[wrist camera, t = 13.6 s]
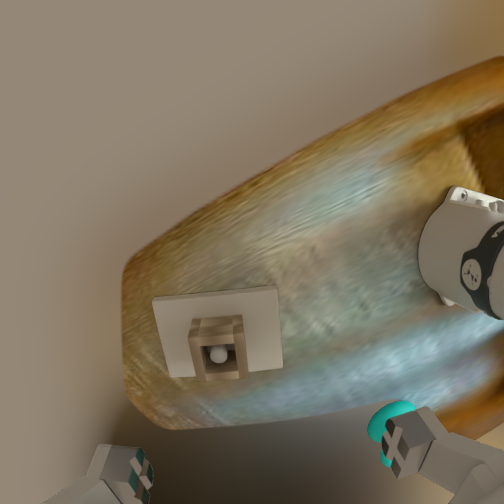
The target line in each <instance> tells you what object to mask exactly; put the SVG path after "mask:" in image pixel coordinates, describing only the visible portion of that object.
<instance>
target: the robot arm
mask: <svg viewBox="0 0 504 504" xmlns="http://www.w3.org/2000/svg"><path fill="white" fill-rule="evenodd" d="M461 194H462V197H461ZM418 261H419V268H420V272H421V275H422V277H423V279H424V281H425V282H426V284H427V285H428V286H429V287H430V288H432V289H433V290H435V291H436V292H438V294H439V295H440V298H441V300H442V302H443V303H444V304H445V305H448V306H452V305H454V304H458V305H460V306H462V307H464V308H466V309H468V310H470V311H472V312H474V313H478V312H479V311H483V312H484V313H485V314H487V315H488V316H490V317H493V318H495V319H498V320H504V200H501V199H498V198H495V197H492V196H489V195H486V194H482V193H479V192H476V191H473V190H469V189H466V188H462V187H459V186H452V187H451V188H450V190H449V192H448V194H447V196H446V198H445V201H444V202H443V204H442V205H441V206H440V207H439V208H438V209H437V210H436V211H435V212H434V213H433V214H432V215H431V217H430V218H429V220H428V221H427V223H426V225H425V227H424V230H423V232H422V235H421V239H420V243H419V250H418ZM385 427H386V429H387V430H386V432H385V433H384V434H383V435H382V440H381V442H382V450H383V453H384V455H385V457H386V458H387V459H389V460H392V463H391V466H390V467H391V469H392V471H393V473H394V475H395V476H396V478H397V479H400V478H403V477H406V476H409V475H412V474H415V473H417V472H419V474H421V475H422V476H424V477H426V478H427V479H429V480H431V481H433V482H434V483H436V484H438V485H440V486H441V487H443V488H445V489H447V490H448V491H450V492H452V493H454V494H455V495H454V497H453V498H452V499H451V501H450V502H449V503H448V504H504V451H503V450H501V449H498V448H495V447H492V446H489V445H486V444H483V443H480V442H477V441H474V440H472V439H469V438H466V437H463V436H461V435H458V434H455V433H448V432H447V431H446V429H445V428H444V427H443V425H442V424H441V423H440V421H439V420H438V419H437V418H436V416H435V415H434V414H433V412H432V411H431V410H430V409H429V407H427V406H425V407H422V408H419V409H416V410H414V411H410V412H407V413H404V414H401V415H398V416H395V417H391V418H388V419H387V421H386V424H385ZM144 457H145V453H144V451H143V449H142V448H134V447H125V446H116V445H107V444H100V445H99V446H98V447H97V449H96V452H95V454H94V457H93V459H92V462H91V464H90V467H89V469H88V472H87V474H86V477H83V476H82V477H80V478H79V479H77V480H76V481H75V482H73V483H72V484H70V485H69V486H67V487H66V488H65V489H63V490H61V491H60V492H58V493H57V494H55V495H54V496H52V497H51V498H49V499H48V500H46V501H45V502H43V503H42V504H149V499H150V494H149V493H148V491H147V489H149V487H151V486H152V483H153V470H152V466H151V464H150V462H149V461H147V460H146V459H144Z"/></svg>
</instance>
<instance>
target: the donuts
mask: <svg viewBox="0 0 504 504" xmlns="http://www.w3.org/2000/svg"><path fill="white" fill-rule="evenodd" d="M414 410H416V408H415V406H414V405H413V404H412V403H410V402H408V401H396V402H393V403H390V404H388V405H386V406H384V407H383V408H381V409H380V410H379V411H378V412H377V413H375V415H374V416H373V417H372V419H371V420H370V422H369V424H368V435H369V437H370V438H371V439H372V440H374V441H376V442H380V443H382V442H381V440H382V435H383V434H384V433H385V432H386V430H387V429H386V427H385V424H386V421H387V419H388V418H391V417H395V416H398V415H401V414H404V413H407V412H410V411H414ZM380 457H381V461H382V463H383V464H384V465H385V466H387V467H390V466H391V463H392V460H389V459H387V458H386V457H385V455H384V453H383V450H382V451H381V456H380Z"/></svg>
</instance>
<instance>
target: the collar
mask: <svg viewBox="0 0 504 504" xmlns="http://www.w3.org/2000/svg"><path fill="white" fill-rule="evenodd" d="M188 343H189V348H190V352H191V357H192V361H193V366H194V370H195V374H196V379H197V382H205V381H219V380H231V379H241V378H249V370H248V360H247V351H246V343H245V334H244V326H243V318H242V314H240V315H230V316H220V317H210V318H198V319H192V322H191V326H190V330H189V334H188ZM232 343H234V345H235V350H229V351H227V359H226V361H225V362H223V363H215V362H214V361H212V360H211V357H210V354H211V352H207V346H210V345H221V344H232Z"/></svg>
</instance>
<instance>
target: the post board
mask: <svg viewBox="0 0 504 504" xmlns="http://www.w3.org/2000/svg"><path fill="white" fill-rule="evenodd" d="M152 305H153V310H154V314H155V319H156V323H157V327H158V331H159V336H160V340H161V344H162V348H163V351H164V355H165V359H166V363H167V366H168V370H169V374H170V377H191V376H196V374H195V370H194V366H193V361H192V357H191V352H190V348H189V343H188V334H189V330H190V326H191V322H192V319H198V318H210V317H220V316H230V315H240V314H242V318H243V326H244V334H245V343H246V351H247V360H248V370H249V372H252V371H261V370H269V369H277V368H283V360H282V344H281V328H280V313H279V298H278V288H277V286H276V285H271V286H262V287H253V288H244V289H235V290H225V291H216V292H205V293H195V294H184V295H173V296H162V297H154V298H153V300H152ZM229 350H235V345H234V343H232V344H221V345H210V346H207V352H211V354H210V357H211V360H212V361H214V362H215V363H223V362H225V361H226V359H227V351H229Z"/></svg>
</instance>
